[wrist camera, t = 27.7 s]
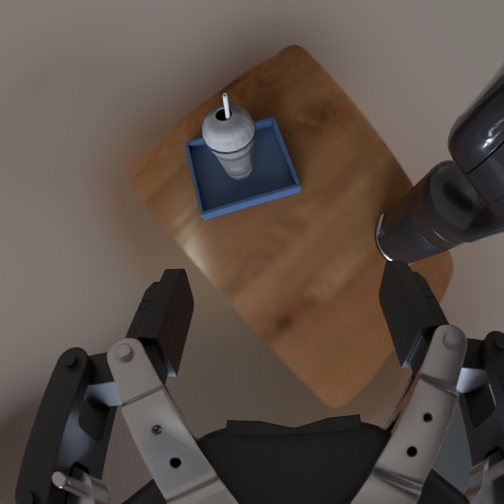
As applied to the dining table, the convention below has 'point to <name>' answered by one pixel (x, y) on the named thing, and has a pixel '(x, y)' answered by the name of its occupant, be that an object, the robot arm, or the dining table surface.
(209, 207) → the tray
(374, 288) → the dining table surface
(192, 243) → the dining table surface
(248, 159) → the beverage cup
